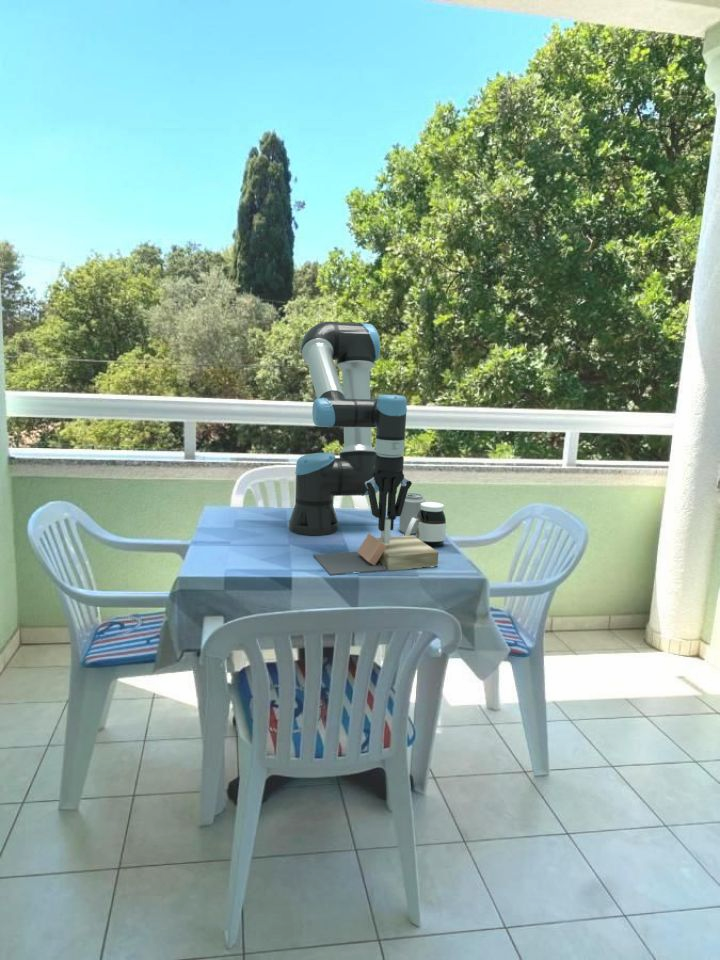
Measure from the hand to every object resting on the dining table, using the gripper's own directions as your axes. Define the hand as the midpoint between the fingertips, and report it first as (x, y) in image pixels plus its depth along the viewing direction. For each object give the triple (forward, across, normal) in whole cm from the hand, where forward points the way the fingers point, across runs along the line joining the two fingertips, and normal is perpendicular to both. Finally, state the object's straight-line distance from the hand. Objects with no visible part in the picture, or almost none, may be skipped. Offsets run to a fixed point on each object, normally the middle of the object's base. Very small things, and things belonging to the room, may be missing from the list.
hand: (385, 542), depth 180 cm
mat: (+5, -10, 0) cm, 11 cm away
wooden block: (+5, +5, 0) cm, 7 cm away
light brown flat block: (+2, -3, 0) cm, 4 cm away
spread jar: (+5, +18, +14) cm, 23 cm away
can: (+5, +19, +25) cm, 32 cm away
